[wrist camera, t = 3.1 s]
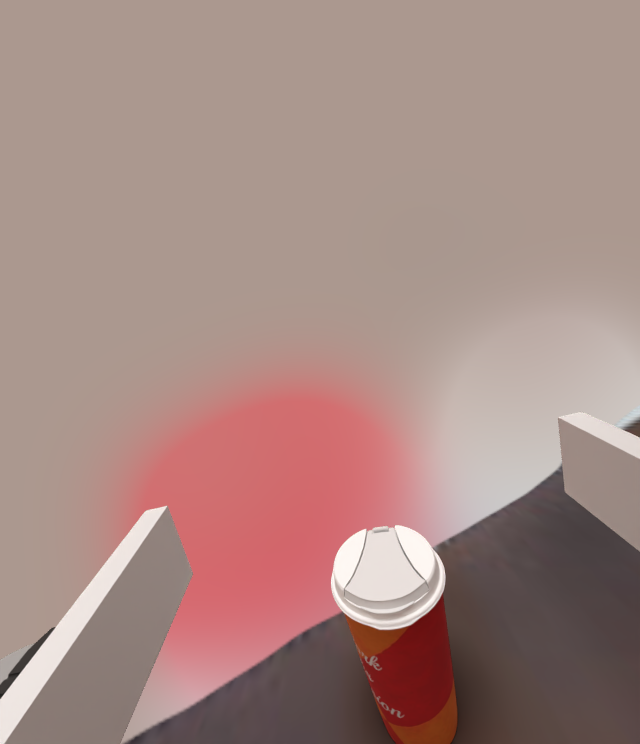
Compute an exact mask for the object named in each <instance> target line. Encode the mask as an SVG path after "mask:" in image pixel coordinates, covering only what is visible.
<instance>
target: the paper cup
mask: <svg viewBox="0 0 640 744" xmlns="http://www.w3.org/2000/svg"><path fill="white" fill-rule="evenodd" d="M395 529H396V530H394V528H388V526H385V527H376V528H373V530H370V531H368V532H367V530H366V529H364V530H362V531H360V532H358V533H356V534H354V535H353V536H351V537H350V538H349V539H348V540H347V541H346V542H345V543H344V544H343V545H342V546H341V548H340V549H339V551H338V553H337V555H336V558H335V562H334V570H333V573H332V578H331V587H332V594H333V596H334V599H335V601H336V603H337V605H338V606H339V608H340V609H341V610H342V611H343V612H344V614H345V617H346V619H347V622H348V625H349V628H350V631H351V633H352V636H353V639H354V642H355V645H356V647H357V650H358V653H359V656H360V659H361V662H362V664H363V667H364V670H365V673H366V676H367V678H368V681H369V684H370V687H371V689H372V692H373V695H374V698H375V700H376V703H377V706H378V709H379V711H380V714H381V716H382V719H383V722H384V724H385V726H386V728H387V731H388V733H389V734H390V736H391V738H392V739H393V741H394V742H395V743H396V744H451V742H452V740H453V738H454V736H455V733H456V729H457V703H456V693H455V685H454V677H453V669H452V661H451V653H450V645H449V637H448V629H447V622H446V614H445V606H444V599H443V590H444V586H445V571H444V566H443V564H442V561H441V559H440V558H439V556H438V554H437V553H436V552H435V551H434V550H433V549H432V547H431V546H430V544H429V543H428V542H427V540H426V539H425V538H424V537H423V536H421V535H420V534H419V533H417V532H416V531H414V530H412V529H409V528H407V527H403V526H398V525H395Z"/></svg>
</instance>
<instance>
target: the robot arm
mask: <svg viewBox="0 0 640 744" xmlns="http://www.w3.org/2000/svg"><path fill="white" fill-rule="evenodd" d="M558 423H559V434H560V445H561V455H562V466H563V476H564V487H565V492H566V493H567V494H568V495H569V496H571V497H572V498H573V499H574V500H576V501H577V502H578V503H579V504H581V505H582V506H583V507H584V508H586V509H587V510H588V511H589V512H591V513H592V514H593V515H594V516H596V517H597V518H598V519H600V520H601V521H602V522H603V523H605V524H606V525H607V526H608V527H610V528H611V529H612V530H613V531H615V532H616V533H617V534H618V535H620V536H621V537H622V538H623V539H625V540H626V541H627V542H628V543H630V544H631V545H632V546H633V547H635V548H636V549H637V550H639V551H640V438H639V437H637V436H635V435H633V434H631V433H628V432H626V431H624V430H622V429H619V428H617V427H615V426H613V425H610V424H608V423H606V422H604V421H601V420H599V419H597V418H595V417H592V416H590V415H588V414H585V413H583V412H579V413H574V414H570V415H565V416H561V417H558ZM192 575H193V572H192V570H191V567H190V564H189V562H188V559H187V556H186V554H185V551H184V548H183V546H182V543H181V540H180V538H179V535H178V533H177V530H176V527H175V525H174V522H173V519H172V516H171V514H170V511H169V509H168V506H165V507H161V508H156V509H152V510H148V511H145V512H144V514H143V515H142V516H141V518H140V519H139V520H138V521H137V523H136V524H135V525H134V527H133V528H132V529H131V531H130V532H129V533H128V534H127V536H126V537H125V538H124V540H123V541H122V542H121V544H120V545H119V546H118V547H117V549H116V550H115V551H114V553H113V554H112V555H111V556H110V558H109V559H108V560H107V562H106V563H105V564H104V566H103V567H102V568H101V569H100V571H99V572H98V573H97V575H96V576H95V577H94V579H93V580H92V581H91V582H90V584H89V585H88V586H87V588H86V589H85V590H84V592H83V593H82V594H81V595H80V597H79V598H78V600H77V601H76V602H75V603H74V604H73V606H72V607H71V608H70V610H69V611H68V612H67V614H66V615H65V616H64V617H63V619H62V620H61V621H60V623H59V624H58V625H57V626H56V627H54V628H52V629H50V630H49V631H48V632H47V633H46V634H45V635H44V636H43V637H42V638H41V639H40V640H38V642H36V643H35V644H34V645H33V646H32V647H31V648H30V649H28V650H27V652H26V653H25V654H24V655H23V657H22V658H21V659H20V660H19V662H18V663H17V664H16V665H15V667H14V668H13V669H12V670H11V672H10V673H9V674H8V678H7V679H5V680H3V682H2V683H1V684H0V744H120V743H121V740H122V738H123V736H124V733H125V731H126V729H127V726H128V724H129V722H130V719H131V717H132V715H133V712H134V710H135V707H136V705H137V703H138V701H139V698H140V696H141V693H142V691H143V689H144V687H145V684H146V682H147V680H148V677H149V675H150V673H151V670H152V668H153V666H154V663H155V661H156V659H157V656H158V654H159V652H160V650H161V647H162V645H163V643H164V640H165V638H166V636H167V633H168V631H169V629H170V626H171V624H172V622H173V619H174V617H175V615H176V612H177V610H178V608H179V605H180V603H181V601H182V598H183V596H184V594H185V591H186V589H187V587H188V584H189V582H190V580H191V577H192Z"/></svg>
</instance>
